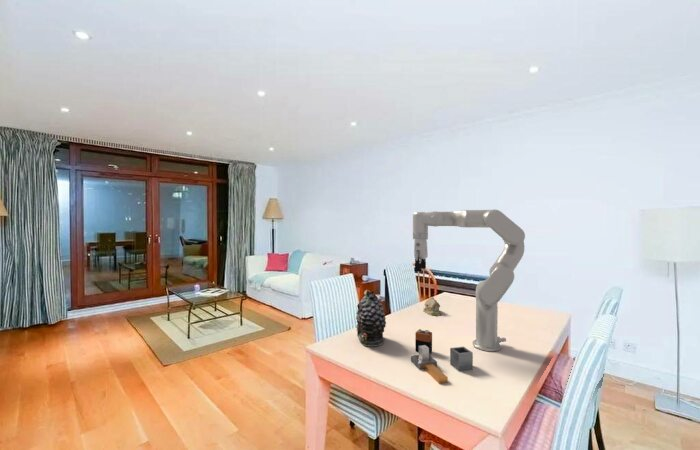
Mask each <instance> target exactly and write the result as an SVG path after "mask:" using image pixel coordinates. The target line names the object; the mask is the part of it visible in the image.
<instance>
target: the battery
mask: <svg viewBox="0 0 700 450" xmlns="http://www.w3.org/2000/svg"><path fill="white" fill-rule="evenodd" d="M414 335H415V339H414V340H415V342H414V343H415V348H414V349H415V352H417V353H419V346H422V345H426V346H427V347H428V348H429V355H430V354H431V353H432V352H433V332H432V331H430V330H429V329H425V330H422V329H421V328H419V329H418V330H417V331H415V333H414Z"/></svg>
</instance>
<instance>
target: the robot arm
mask: <svg viewBox="0 0 700 450" xmlns="http://www.w3.org/2000/svg"><path fill="white" fill-rule="evenodd" d="M429 227H458V228H484V229H485V228H490V229H491V230H492V231H493V232H494V233H495V234H496V235H498V236H499V237H500V238H502V241H503V242H504V246H503V250H502V251H501V253H500V255H499V256H498V257H497V259H496V260H495V262H494V263H493V264H492V266H491V267H490V268H489V276H488V277H487V278H486V279H485V280H481V281H479V282H478V283H477V285H476V287H475V339H474V340H472V347H474V348H476V349H478V350H481V351H485V352H498V351H500V350H501V348H502V345H501V343H504V342H505V343H506V342H507V338H506V337H500V336H498V315H499V313H498V307H499V306H498V304H499V302H500V301H501V299H502V298H503V297H504V296H505V294H506V293H507V291H508V290H509V288H511V286H512V285H513V282H514V280H515V273H514V271H515V269H516V268H517V266H518V265H519V263H520V262H521V260H522V258H523V256H524V254H525V239H526V234H525V231H524V230H523V229H522V228H521V227H520V226H519V225H518V224H516V223H515V222H514V221H513V220H512V219H510V218H509V217H508V216H507V215H506V214H504V212H502V211H501V210H499V209H462V210H457V211H428V212H425V211H415V212H413V213H412V240H414V246H413V247H414V249H413V254H414V255H413V256H414V271H415V272H422V269H424V270H426V269H427V267H426V266H427V261H426V259H427V258H428V241H427V240H428V239H429Z"/></svg>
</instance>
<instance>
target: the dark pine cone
mask: <svg viewBox="0 0 700 450" xmlns="http://www.w3.org/2000/svg"><path fill="white" fill-rule="evenodd" d="M375 294H376V293H375V291H370V290H369V289H366V290H364V292H363V295H364V296H363V297H362V298H361V300H360V301H359V302H358V303H357V306H356V307H357V312H356V313H355V314H356V316H355V319H356V323H357V324H356V325H355V328H356V332H357V335H356V336H357V337H358V340H359V342H360V343H361V345H363V346H366V347H377V346H381V345H383V344H384V341H385V339H384V338H385V337H384V334H383V333H384V332H385V328H386V327H387V322H386V313H385V312H384V307H383V303H382V302H381V300H380V299H379V297H378V296H377V295H375Z"/></svg>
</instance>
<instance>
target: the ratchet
mask: <svg viewBox="0 0 700 450" xmlns="http://www.w3.org/2000/svg"><path fill="white" fill-rule="evenodd" d="M410 361H411V364H413V365H414V366H415V367H416V368H417V369H418V371H422V370H424V371H426V372H427V374H428V375H430V376H431V378H433V379H434V380H435V382H437V383H438V384H439V385H440V384H446V383H448V381H449V380H448V376H447V375H446V374H444V372H442V370H440V369H439V368H438V361H437V360H436V359H435V358H434V357H432V356H431V355H430V354H429V348H428V347H427V346H426V345H422V346H419V352H418V354H415V355H411V356H410Z"/></svg>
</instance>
